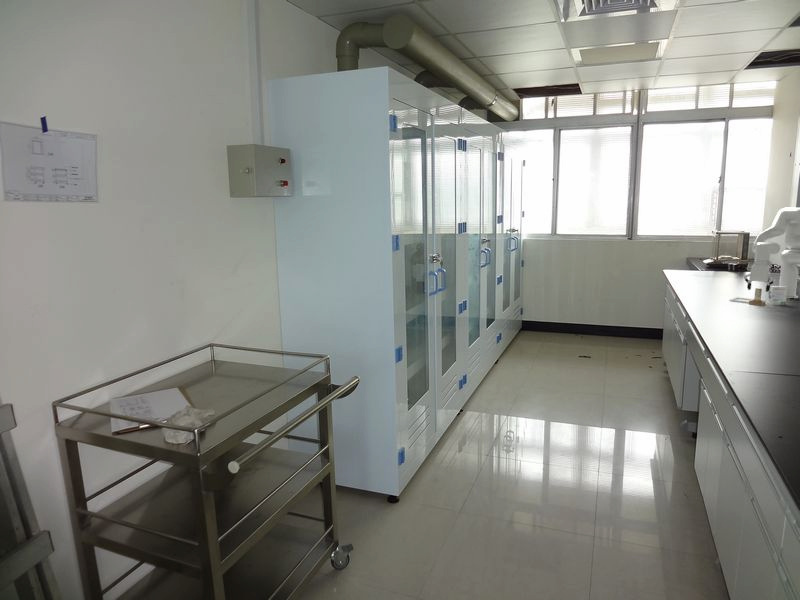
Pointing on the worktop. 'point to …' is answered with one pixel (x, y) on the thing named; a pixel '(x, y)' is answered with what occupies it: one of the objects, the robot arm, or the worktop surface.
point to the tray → (740, 300)
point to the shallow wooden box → (757, 302)
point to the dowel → (758, 294)
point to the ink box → (777, 295)
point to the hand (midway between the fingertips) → (758, 290)
